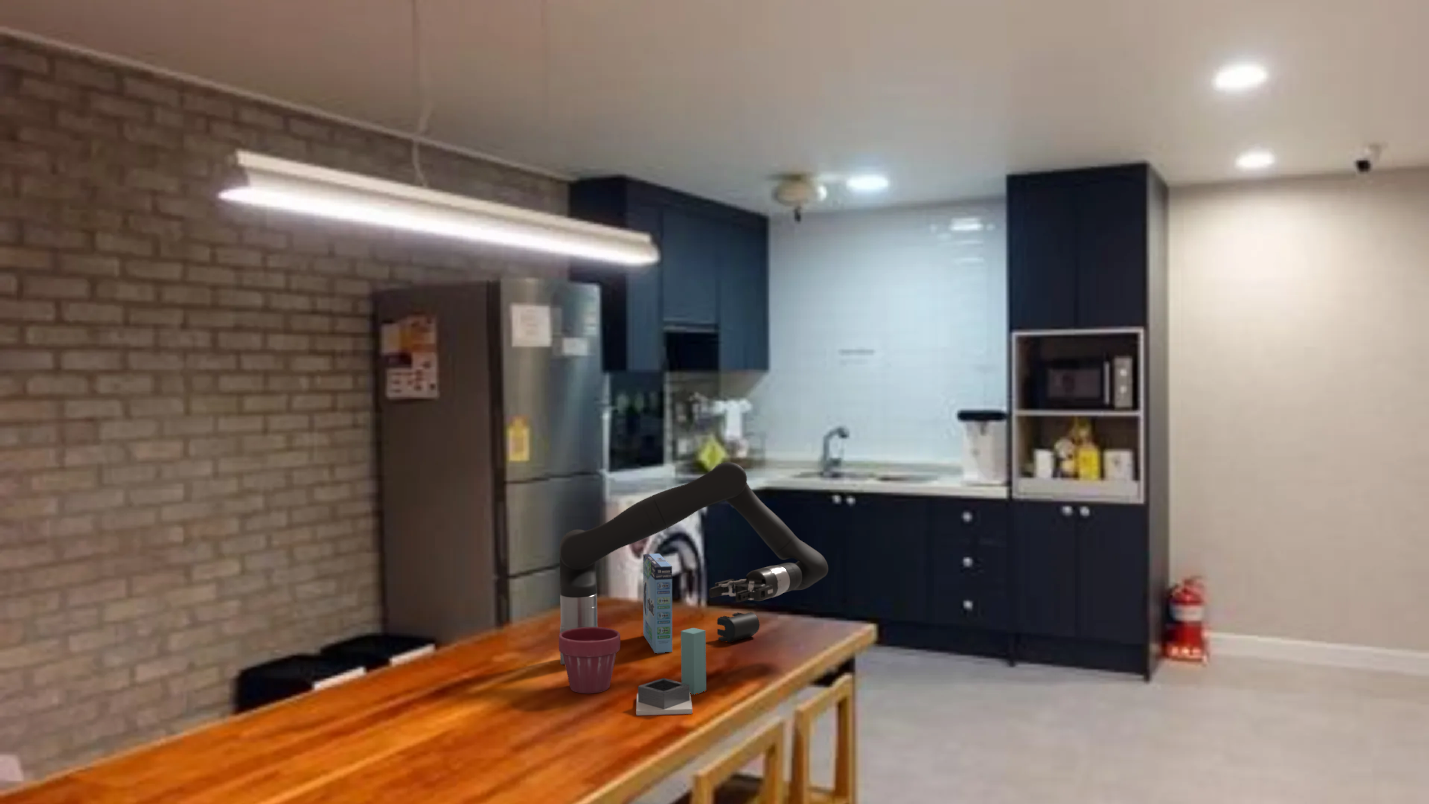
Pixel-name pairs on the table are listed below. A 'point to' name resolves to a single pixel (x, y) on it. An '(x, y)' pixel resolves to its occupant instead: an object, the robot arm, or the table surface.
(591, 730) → the table surface
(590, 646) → the plant pot
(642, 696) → the metal collar
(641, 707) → the base board
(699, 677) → the teal peg
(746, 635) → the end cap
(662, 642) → the light blue cardboard box
